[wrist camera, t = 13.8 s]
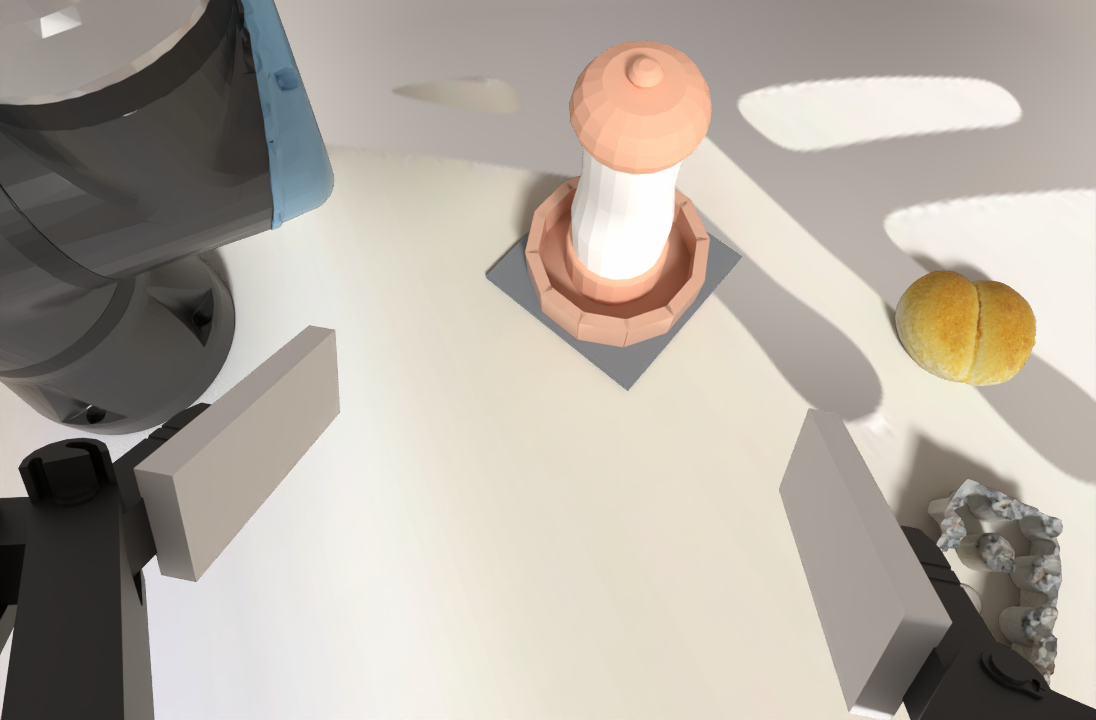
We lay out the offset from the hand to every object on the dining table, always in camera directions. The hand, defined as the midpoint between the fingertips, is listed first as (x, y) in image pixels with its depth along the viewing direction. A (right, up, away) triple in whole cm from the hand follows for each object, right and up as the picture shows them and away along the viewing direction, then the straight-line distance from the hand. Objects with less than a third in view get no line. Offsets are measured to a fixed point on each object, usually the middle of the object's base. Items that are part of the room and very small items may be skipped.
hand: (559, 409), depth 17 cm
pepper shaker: (+5, +9, +29) cm, 31 cm away
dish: (+5, +9, +30) cm, 31 cm away
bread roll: (+30, +3, +28) cm, 41 cm away
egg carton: (+27, -13, +23) cm, 38 cm away
